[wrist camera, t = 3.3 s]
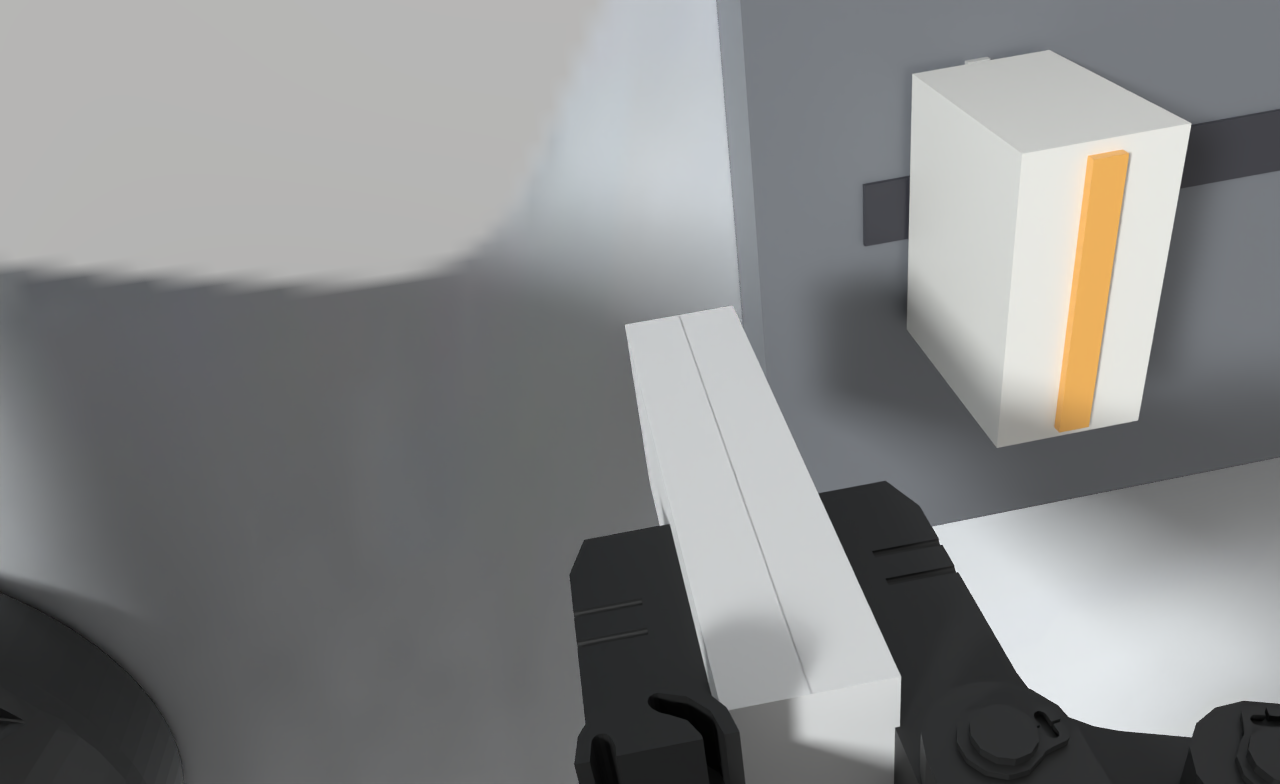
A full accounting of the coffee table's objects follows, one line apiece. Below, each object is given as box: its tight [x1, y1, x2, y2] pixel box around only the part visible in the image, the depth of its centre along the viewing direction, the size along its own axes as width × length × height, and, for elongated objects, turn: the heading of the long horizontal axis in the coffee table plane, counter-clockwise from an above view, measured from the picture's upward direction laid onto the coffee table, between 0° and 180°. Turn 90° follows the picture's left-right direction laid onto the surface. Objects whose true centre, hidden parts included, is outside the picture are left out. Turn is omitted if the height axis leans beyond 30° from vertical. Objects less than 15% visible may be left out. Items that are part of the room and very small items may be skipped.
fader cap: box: [907, 50, 1192, 448], centre depth 17 cm, size 2×5×4 cm, turn 7°
